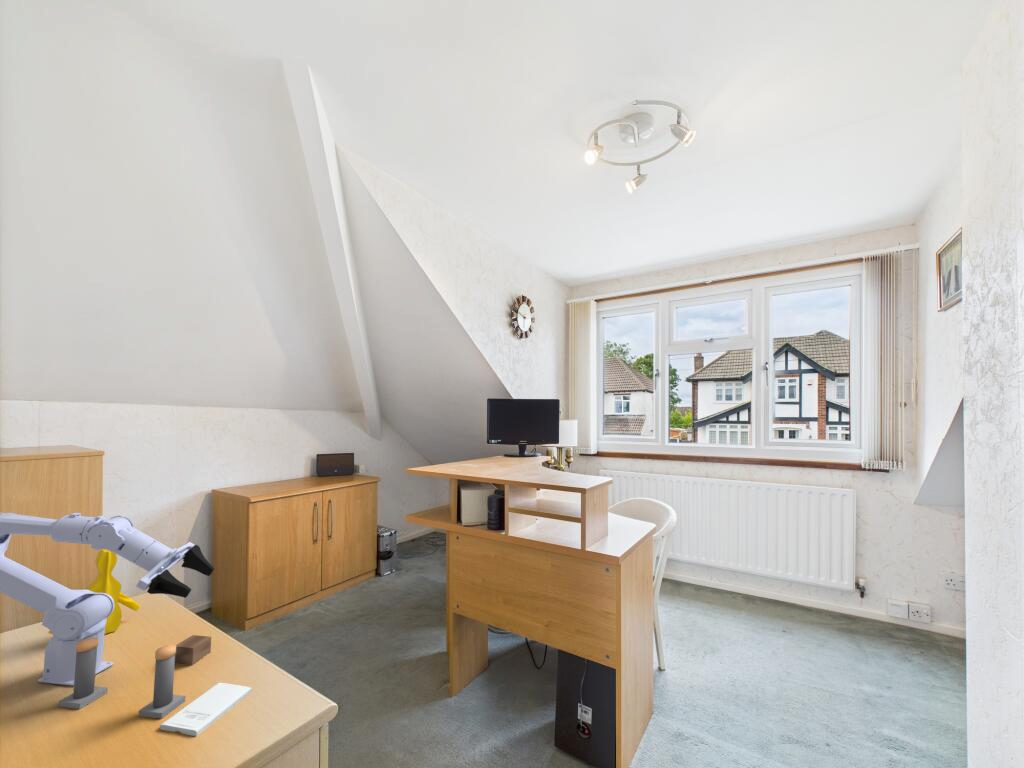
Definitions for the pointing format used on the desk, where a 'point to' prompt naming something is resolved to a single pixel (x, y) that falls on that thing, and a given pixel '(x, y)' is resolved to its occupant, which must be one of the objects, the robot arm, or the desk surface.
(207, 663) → the desk surface
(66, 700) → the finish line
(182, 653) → the walnut block
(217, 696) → the external hard drive
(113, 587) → the figure statuette
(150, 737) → the desk surface
